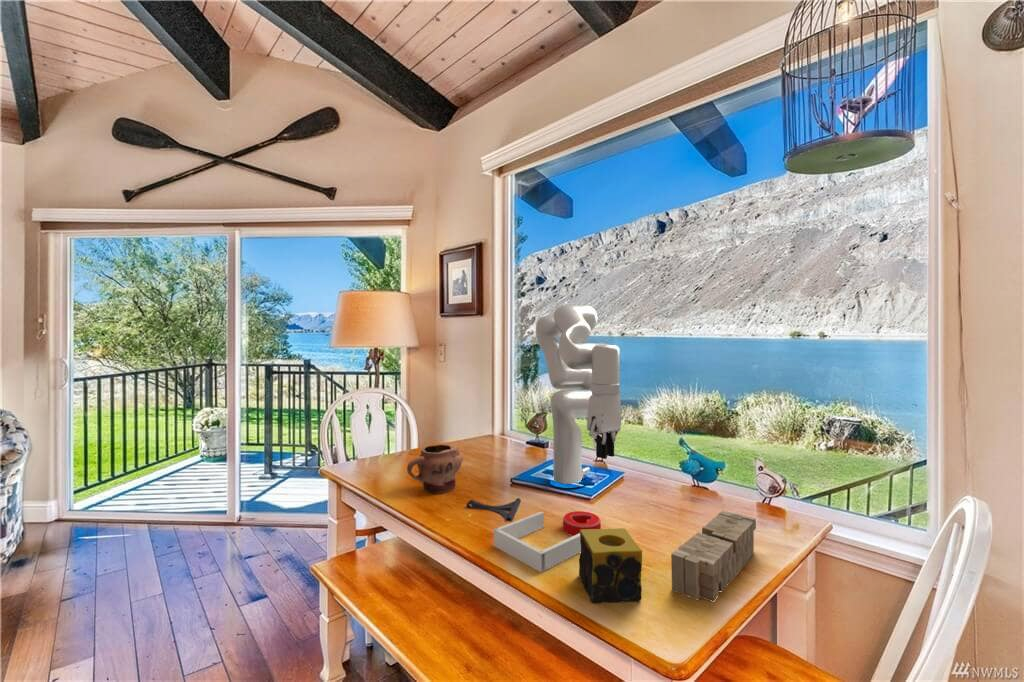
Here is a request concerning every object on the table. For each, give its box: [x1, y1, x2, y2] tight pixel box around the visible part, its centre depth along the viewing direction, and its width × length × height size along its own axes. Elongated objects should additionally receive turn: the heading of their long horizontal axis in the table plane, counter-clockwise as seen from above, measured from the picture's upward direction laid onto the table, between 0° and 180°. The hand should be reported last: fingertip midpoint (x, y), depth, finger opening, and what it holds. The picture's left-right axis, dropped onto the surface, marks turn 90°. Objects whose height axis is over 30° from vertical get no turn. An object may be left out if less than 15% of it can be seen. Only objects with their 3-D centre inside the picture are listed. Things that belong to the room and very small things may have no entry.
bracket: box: [466, 497, 522, 522], centre depth 130 cm, size 14×15×3 cm
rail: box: [493, 511, 581, 573], centre depth 107 cm, size 16×16×4 cm
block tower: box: [670, 510, 757, 601], centre depth 97 cm, size 8×8×29 cm
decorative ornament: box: [562, 510, 602, 537], centre depth 117 cm, size 10×10×3 cm
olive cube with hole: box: [578, 527, 643, 604], centre depth 90 cm, size 10×10×10 cm
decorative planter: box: [406, 444, 464, 494], centre depth 145 cm, size 20×12×14 cm, turn 136°
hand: (605, 456), depth 123 cm, fingers open, 2 cm apart
